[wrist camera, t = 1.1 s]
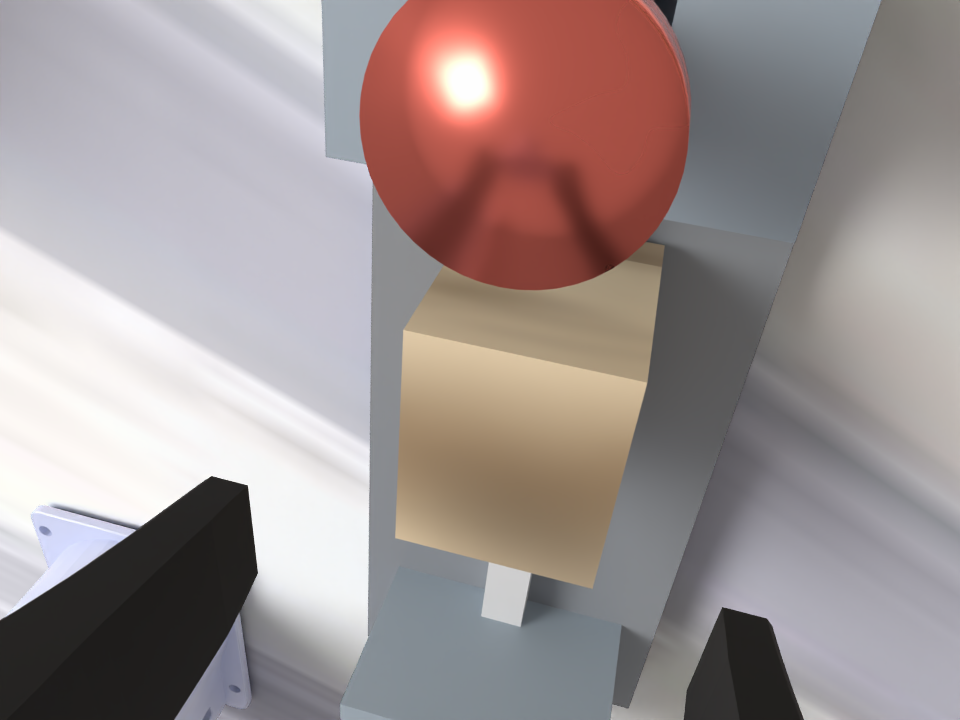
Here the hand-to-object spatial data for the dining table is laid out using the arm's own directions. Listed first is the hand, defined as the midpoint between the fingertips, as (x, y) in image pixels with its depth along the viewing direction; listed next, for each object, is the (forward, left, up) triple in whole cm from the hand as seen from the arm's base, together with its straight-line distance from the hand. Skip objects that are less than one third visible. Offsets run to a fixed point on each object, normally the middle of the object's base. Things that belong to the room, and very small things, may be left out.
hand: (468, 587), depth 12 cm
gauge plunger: (+7, 0, -4) cm, 8 cm away
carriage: (0, 0, -8) cm, 8 cm away
